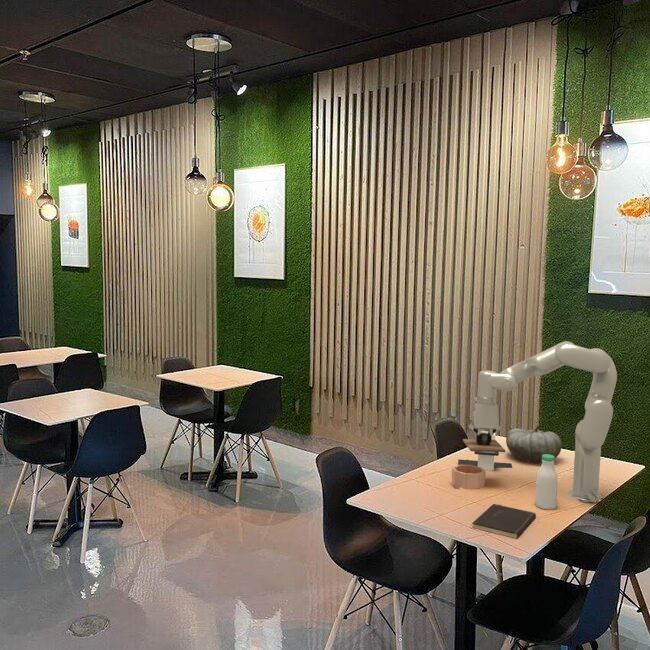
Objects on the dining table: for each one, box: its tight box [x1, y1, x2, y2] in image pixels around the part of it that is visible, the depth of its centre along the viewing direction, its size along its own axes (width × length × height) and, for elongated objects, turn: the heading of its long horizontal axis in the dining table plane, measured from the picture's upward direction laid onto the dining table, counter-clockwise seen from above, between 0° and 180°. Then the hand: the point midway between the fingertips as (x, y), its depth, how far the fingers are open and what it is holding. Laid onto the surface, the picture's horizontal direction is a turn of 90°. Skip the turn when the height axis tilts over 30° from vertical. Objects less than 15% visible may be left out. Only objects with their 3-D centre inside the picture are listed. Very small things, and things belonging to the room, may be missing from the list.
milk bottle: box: [534, 454, 559, 511], centre depth 250 cm, size 8×8×20 cm
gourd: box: [505, 425, 563, 464], centre depth 312 cm, size 25×25×17 cm
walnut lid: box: [462, 433, 506, 453], centre depth 272 cm, size 14×14×5 cm
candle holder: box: [457, 430, 513, 472], centre depth 295 cm, size 25×24×16 cm
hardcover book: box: [471, 503, 537, 539], centre depth 234 cm, size 16×23×2 cm
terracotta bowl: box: [451, 464, 486, 490], centre depth 273 cm, size 13×13×7 cm
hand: (483, 443), depth 272 cm, fingers closed on walnut lid, 3 cm apart
